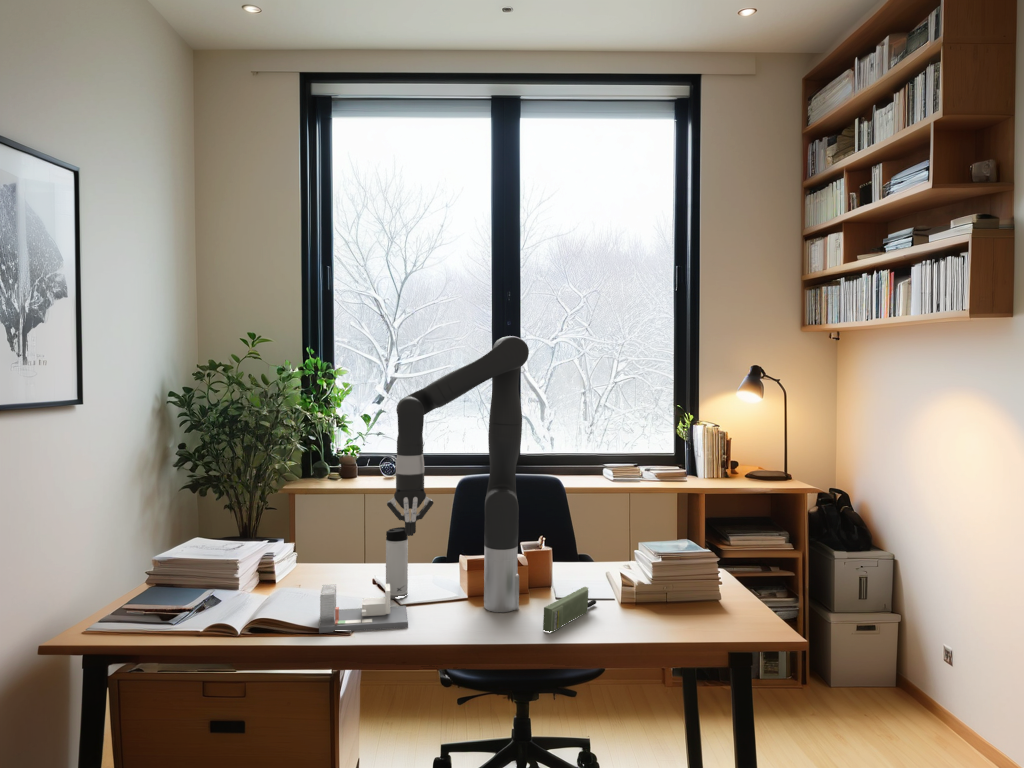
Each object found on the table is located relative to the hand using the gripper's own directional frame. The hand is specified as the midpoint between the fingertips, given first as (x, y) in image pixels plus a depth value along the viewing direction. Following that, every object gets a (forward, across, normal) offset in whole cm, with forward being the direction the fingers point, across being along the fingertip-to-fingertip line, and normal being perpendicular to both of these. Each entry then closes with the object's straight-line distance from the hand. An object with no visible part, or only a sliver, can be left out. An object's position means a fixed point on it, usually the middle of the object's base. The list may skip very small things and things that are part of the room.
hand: (410, 535), depth 189 cm
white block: (+19, +9, +3) cm, 22 cm away
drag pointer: (+19, +19, +7) cm, 28 cm away
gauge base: (+21, +12, +4) cm, 25 cm away
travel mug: (+22, +3, -15) cm, 26 cm away
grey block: (+20, +21, +2) cm, 29 cm away
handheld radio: (+22, -42, +11) cm, 49 cm away
